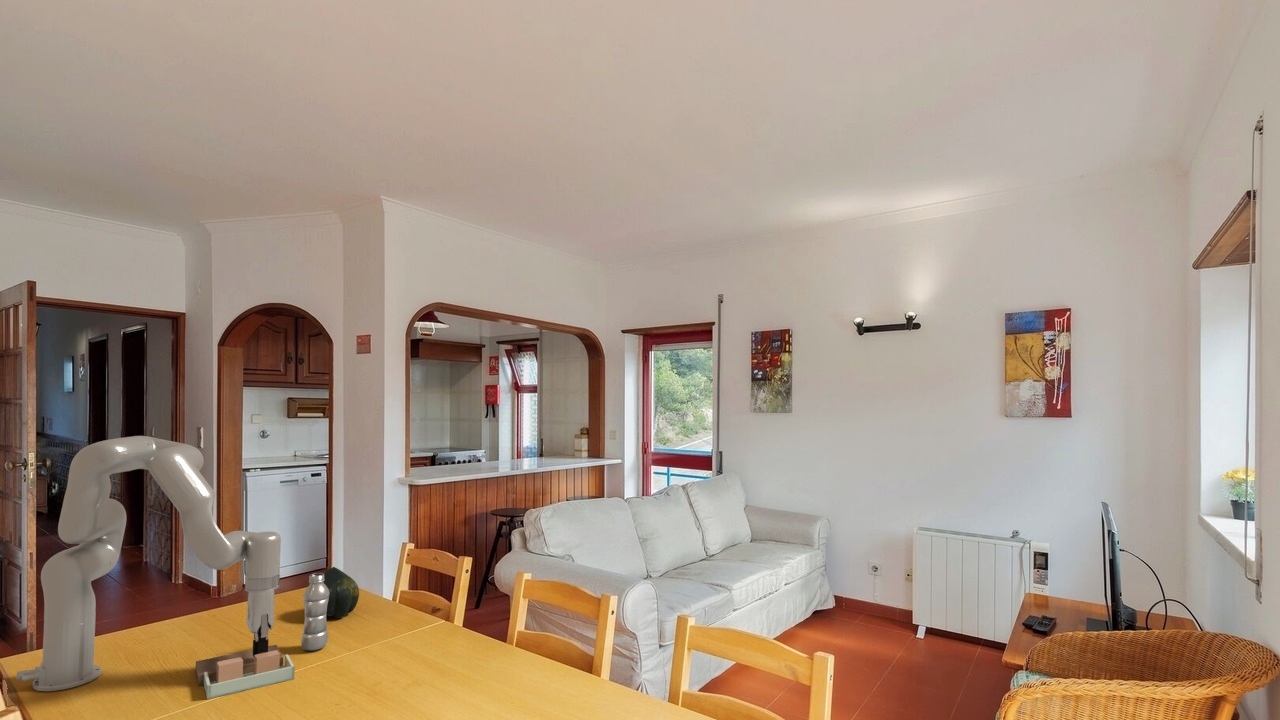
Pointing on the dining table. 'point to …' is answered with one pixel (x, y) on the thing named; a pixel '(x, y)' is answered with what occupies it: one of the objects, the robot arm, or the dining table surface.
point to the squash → (340, 593)
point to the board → (211, 663)
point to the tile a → (229, 669)
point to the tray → (249, 681)
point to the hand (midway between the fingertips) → (260, 655)
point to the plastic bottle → (315, 613)
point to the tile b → (266, 662)
